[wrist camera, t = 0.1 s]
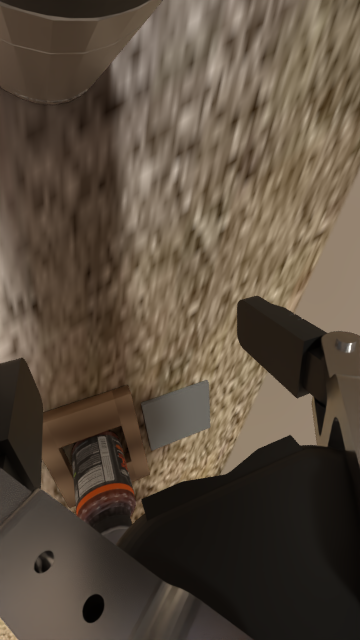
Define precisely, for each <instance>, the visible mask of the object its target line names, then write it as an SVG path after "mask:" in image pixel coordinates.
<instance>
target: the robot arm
mask: <svg viewBox="0 0 360 640" xmlns="http://www.w3.org/2000/svg"><path fill="white" fill-rule="evenodd" d="M162 1H163V0H0V87H1V88H3V89H4V90H5V91H7V92H9V93H11V94H13V95H15V96H17V97H19V98H21V99H24V100H27V101H31V102H34V103H37V104H51V105H55V104H60V103H65V102H69V101H71V100H73V99H75V98H77V97H79V96H81V95H82V94H83V93H85V92H86V91H87V90H88V89H89V88H90V87H91V86H92V85H93V84H94V82H95V81H96V80H97V79H98V78H99V77H100V76H101V75H102V73H103V72H104V71H105V70H106V69H107V67H108V66H109V65H110V64H111V63H112V61H113V60H114V59H115V58H116V57H117V55H118V54H119V53H120V52H121V50H122V49H123V48H124V47H125V46H126V44H127V43H128V42H129V41H130V40H131V38H132V37H133V36H134V35H135V34H136V32H137V31H138V30H139V29H140V28H141V26H142V25H143V24H144V23H145V22H146V20H147V19H148V18H149V17H150V16H151V14H152V13H153V12H154V11H155V10H156V8H157V7H158V6H159V5H160V4H161V2H162ZM237 336H238V340H239V343H240V345H241V346H242V348H243V349H244V350H245V351H246V352H247V353H249V354H250V355H251V356H252V357H253V358H254V359H255V360H256V361H257V362H258V363H259V364H260V365H261V366H263V367H264V368H265V369H266V370H267V371H268V372H269V373H270V374H271V375H273V376H274V377H275V379H277V380H278V381H279V382H280V383H281V384H282V385H283V386H284V387H285V388H286V389H288V391H290V392H291V393H292V394H293V395H294V396H295V397H296V398H299V397H302V396H304V395H306V394H309V393H310V394H311V395H312V396H313V397H312V411H313V418H314V427H315V434H316V442H317V446H316V445H303V446H300V445H299V444H298V443H297V442H296V441H295V440H294V438H293V437H292V436H291V435H289V436H287V437H285V438H282V439H280V440H278V441H275V442H273V443H271V444H268V445H266V446H264V447H262V448H259V449H257V450H256V451H255V452H254V453H252V454H251V455H250V456H249V457H248V458H246V459H245V460H244V461H243V462H242V463H240V464H239V465H238V466H237V467H236V468H234V469H233V470H232V471H231V472H229V473H227V474H225V475H220V476H214V477H208V478H202V479H196V480H190V481H183V482H180V483H178V484H176V485H173V486H171V487H169V488H167V489H164V490H162V491H160V492H157V493H155V494H153V495H150V496H148V497H146V498H143V499H141V500H142V504H143V508H144V511H145V514H144V515H142V516H141V517H140V518H139V519H137V520H136V521H135V522H134V523H133V524H132V525H131V526H130V527H129V528H128V529H127V530H126V532H125V533H124V534H123V535H122V537H121V538H120V539H119V540H118V542H117V543H116V545H115V544H114V543H112V542H111V541H110V540H108V539H107V538H106V537H104V536H103V535H102V534H100V533H99V532H98V531H96V530H95V529H94V528H92V527H91V526H90V525H88V524H87V523H86V522H84V521H83V520H82V519H80V518H79V517H78V516H76V515H75V514H74V513H73V512H71V511H70V510H69V509H67V508H66V507H65V506H63V505H62V504H61V503H59V502H58V501H57V500H55V499H54V498H53V497H51V496H50V495H49V494H47V493H46V492H44V491H43V490H41V464H42V435H43V404H42V399H41V396H40V393H39V391H38V388H37V386H36V384H35V381H34V379H33V377H32V374H31V372H30V370H29V367H28V365H27V363H26V361H25V359H24V358H19V359H16V360H12V361H8V362H4V363H1V364H0V618H1V619H2V620H3V621H4V623H5V624H6V625H7V626H8V628H9V629H10V630H11V631H12V633H13V634H14V635H15V636H16V637H17V639H18V640H360V336H359V335H357V334H354V333H350V332H342V331H336V332H330V333H326V332H325V331H323V330H321V329H320V328H318V327H316V326H315V325H313V324H311V323H309V322H308V321H306V320H304V319H301V317H299V316H298V315H296V314H295V315H294V313H292V312H291V311H289V310H287V309H286V308H284V307H280V306H277V305H274V304H271V303H269V302H267V301H266V300H264V299H263V298H261V297H259V296H254V297H250V298H246V299H242V300H240V301H239V302H238V304H237Z"/></svg>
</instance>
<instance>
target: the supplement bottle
mask: <svg viewBox="0 0 360 640" xmlns="http://www.w3.org/2000/svg"><path fill="white" fill-rule="evenodd" d="M72 468H73V480H74V491H75V502H76V513H77V516H78V517H79V518H80V519H82V520H83V521H84V522H86V523H87V524H88V525H90V526H91V527H92V528H94V529H95V530H96V531H98V532H99V533H100V534H102V535H103V536H104V537H106V538H107V539H108V540H110V541H111V542H112V543H114V544H115V545H116V543H117V542H118V540H119V539H120V538H121V537H122V535H123V534H124V533H125V532H126V530H127V529H128V528H129V527H130V526H131V525H132V521H131V519H130V517H131V515H132V514H133V512H134V510H135V506H136V499H135V495H134V491H133V487H132V483H131V479H130V476H129V472H128V468H127V464H126V460H125V457H124V453H123V449H122V444H121V442H120V439H119V437H118V436H117V435H116V434H115V433H113V432H110V431H105V432H102V433H99V434H96V435H94V436H91V437H88V438H85V439H83V440H80V441H77V442H76V443H75V445H74V447H73V449H72Z"/></svg>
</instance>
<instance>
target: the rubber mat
mask: <svg viewBox="0 0 360 640" xmlns="http://www.w3.org/2000/svg"><path fill="white" fill-rule="evenodd" d="M141 406H142V411H143V415H144V420H145V425H146V429H147V434H148V439H149V443H150V448H151V451H152V450H155V449H157V448H160V447H162V446H165V445H167V444H170V443H172V442H175V441H177V440H180V439H182V438H185V437H187V436H190V435H192V434H195V433H197V432H200V431H202V430H205V429H207V428H210V406H209V382H208V381H207V380H205V381H202V382H200V383H197V384H194V385H191V386H188V387H185V388H182V389H179V390H177V391H174V392H171V393H168V394H165V395H162V396H159V397H156V398H154V399H151V400H148V401H145V402H142V403H141Z"/></svg>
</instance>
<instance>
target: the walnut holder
mask: <svg viewBox="0 0 360 640" xmlns="http://www.w3.org/2000/svg"><path fill="white" fill-rule="evenodd" d="M121 425H122V429H123V432H124V436H125V439H126V443H127V446H128V450H129V452H127V453H125V454H124V457H125V460H126V464H127V468H128V472H129V476H130V479H131V482H133V481H136V480H138V479H140V478H143V477H145V476H148V475H150V472H149V468H148V464H147V459H146V455H145V451H144V447H143V442H142V438H141V434H140V430H139V425H138V421H137V417H136V413H135V408H134V404H133V400H132V396H131V392H130V389H129V386H128V385H126V386H123V387H120V388H117V389H114V390H111V391H108V392H105V393H102V394H99V395H96V396H93V397H89V398H86V399H83V400H80V401H77V402H74V403H71V404H68V405H65V406H62V407H59V408H56V409H53V410H50V411H47V412H44V413H43V435H42V459H43V461H44V463H45V465H46V467H47V468H48V470H49V472H50V474H51V476H52V477H53V479H54V481H55V483H56V485H57V487H58V488H59V490H60V492H61V494H62V496H63V497H64V499H65V501H66V503H67V505H68V506H69V508H71V507H74V506H76V502H75V491H74V480H73V469H72V467H71V465H70V463H69V461H68V459H67V456H66V454H65V452H64V450H63V448H62V447H63V446H66V445H69V444H72V443H74V442H77V441H80V440H83V439H85V438H88V437H91V436H94V435H96V434H99V433H102V432H105V431H108V430H110V429H113V428H116V427H119V426H121Z"/></svg>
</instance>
